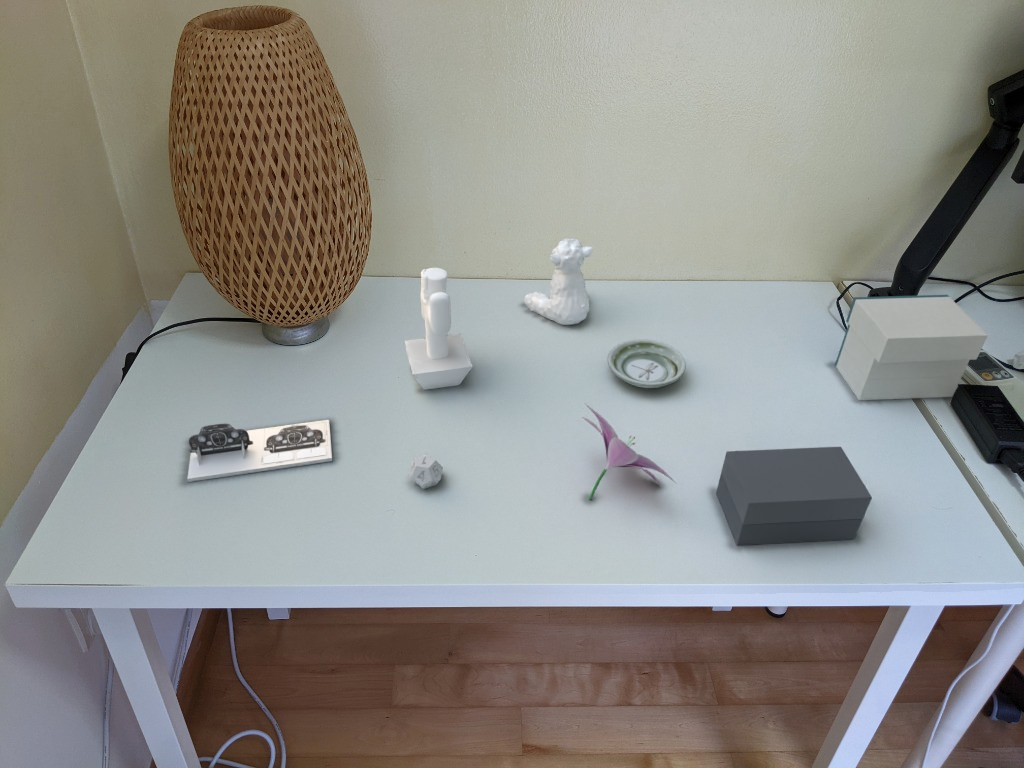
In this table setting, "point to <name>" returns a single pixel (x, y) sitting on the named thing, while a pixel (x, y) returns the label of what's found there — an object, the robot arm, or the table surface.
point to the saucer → (646, 363)
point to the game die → (425, 471)
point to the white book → (915, 328)
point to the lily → (621, 452)
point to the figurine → (437, 338)
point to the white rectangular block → (895, 374)
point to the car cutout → (256, 449)
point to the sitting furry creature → (564, 286)
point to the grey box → (791, 495)
